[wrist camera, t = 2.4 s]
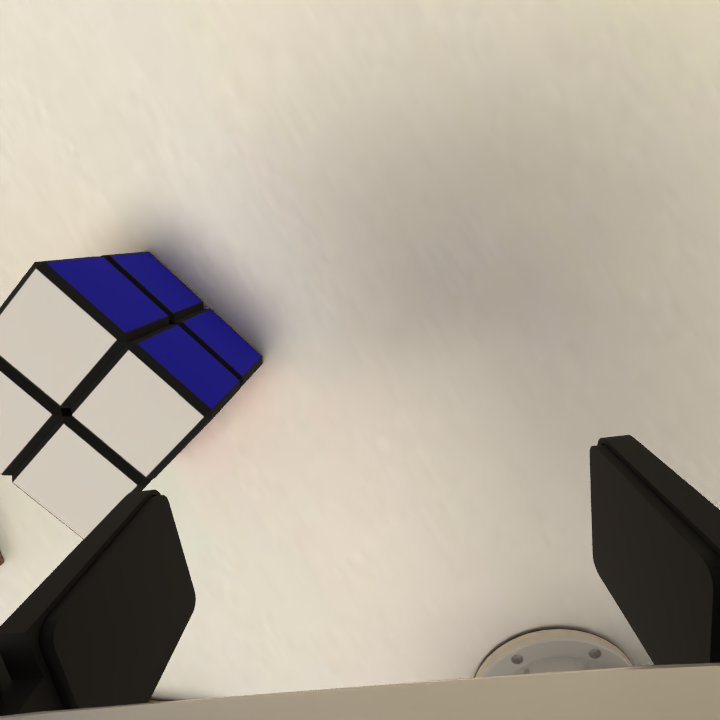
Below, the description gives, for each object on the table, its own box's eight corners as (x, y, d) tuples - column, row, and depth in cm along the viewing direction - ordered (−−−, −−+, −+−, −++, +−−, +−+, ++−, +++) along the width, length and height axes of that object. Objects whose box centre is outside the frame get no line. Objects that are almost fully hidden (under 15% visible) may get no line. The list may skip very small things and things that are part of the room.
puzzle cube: (267, 358, 31) (214, 416, 21) (172, 456, 33) (86, 548, 24) (147, 247, 30) (32, 256, 20) (56, 357, 32) (-86, 413, 22)
